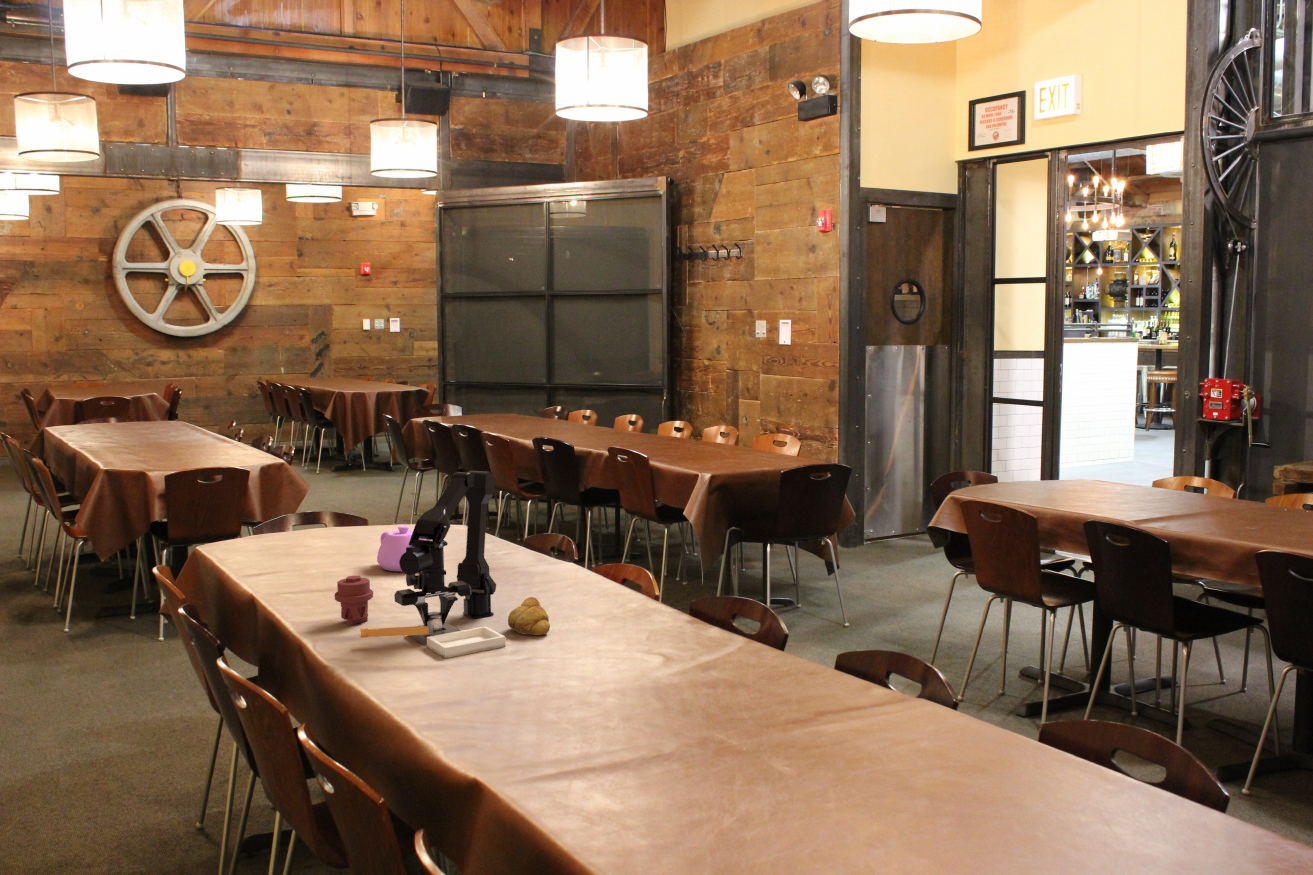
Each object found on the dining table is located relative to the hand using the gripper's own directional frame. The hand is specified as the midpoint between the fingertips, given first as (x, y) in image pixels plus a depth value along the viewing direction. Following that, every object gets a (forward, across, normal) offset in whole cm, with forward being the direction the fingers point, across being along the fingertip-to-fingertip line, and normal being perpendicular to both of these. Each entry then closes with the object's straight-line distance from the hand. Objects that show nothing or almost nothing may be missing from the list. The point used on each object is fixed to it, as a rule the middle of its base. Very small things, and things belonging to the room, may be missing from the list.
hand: (434, 625), depth 275 cm
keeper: (+1, +10, +1) cm, 10 cm away
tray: (+3, -3, +12) cm, 13 cm away
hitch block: (+3, 0, 0) cm, 3 cm away
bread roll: (+3, -22, +10) cm, 24 cm away
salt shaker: (+3, 0, 0) cm, 3 cm away
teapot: (+3, -25, -78) cm, 82 cm away
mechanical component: (+3, +12, -25) cm, 28 cm away
